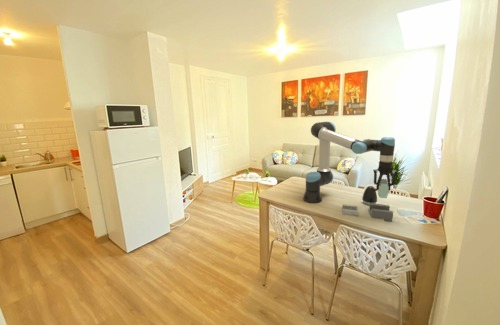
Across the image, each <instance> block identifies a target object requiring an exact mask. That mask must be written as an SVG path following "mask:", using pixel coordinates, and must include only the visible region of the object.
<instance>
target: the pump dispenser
mask: <svg viewBox="0 0 500 325" xmlns="http://www.w3.org/2000/svg"><path fill="white" fill-rule="evenodd" d="M377 191H378V190H377V189H376V187H374V186H372V185H368V186H366V188H365V190H364V192H363V194H362V197H361V199H362V202H363V204H364V205H367V206H369V204H370V203H374V204H377V202H378V193H377Z"/></svg>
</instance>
